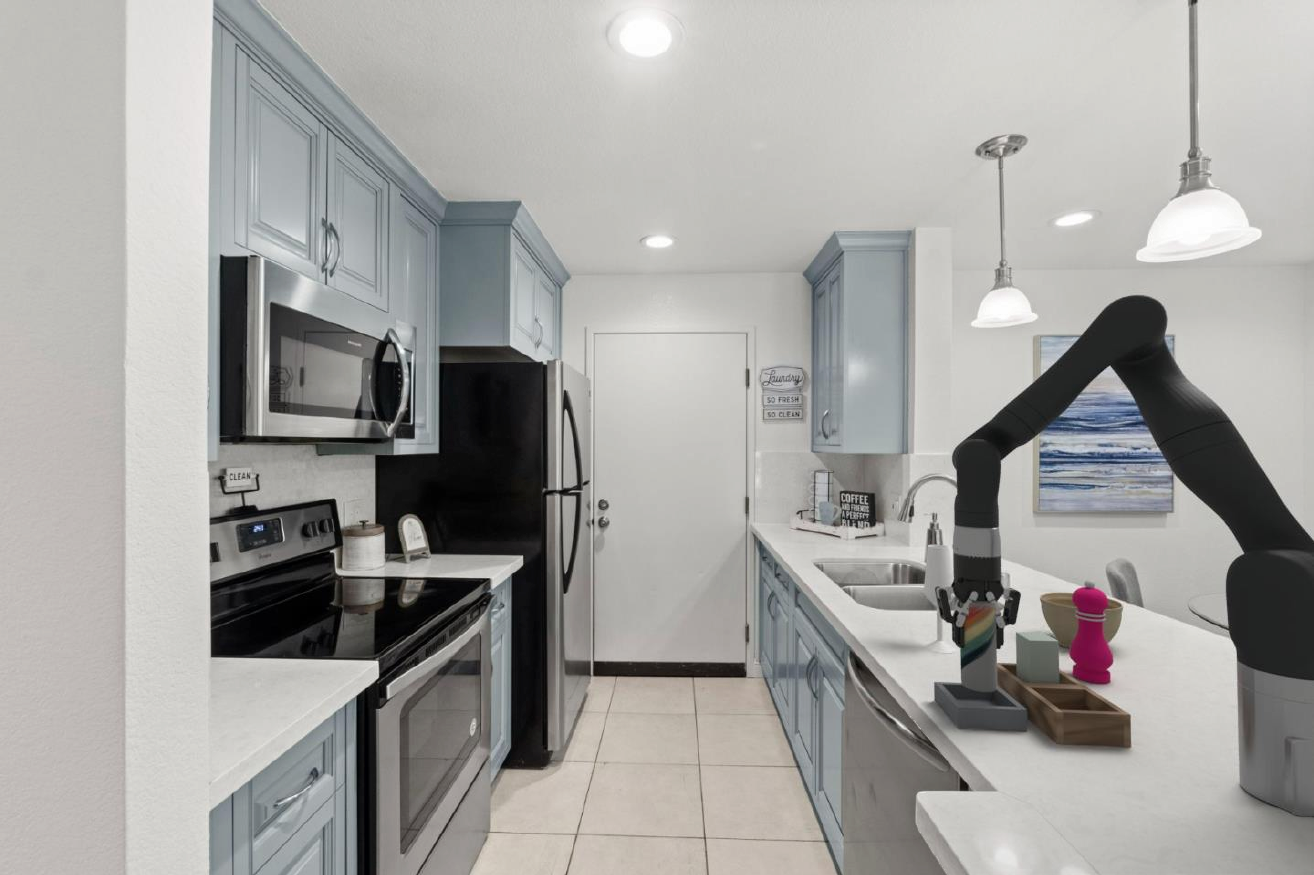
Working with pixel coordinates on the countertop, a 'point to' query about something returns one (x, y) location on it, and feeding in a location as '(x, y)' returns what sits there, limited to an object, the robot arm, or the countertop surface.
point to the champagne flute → (941, 576)
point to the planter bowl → (1065, 623)
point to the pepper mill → (1090, 636)
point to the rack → (1068, 710)
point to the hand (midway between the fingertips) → (977, 646)
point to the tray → (980, 708)
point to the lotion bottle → (979, 643)
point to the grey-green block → (1037, 658)
